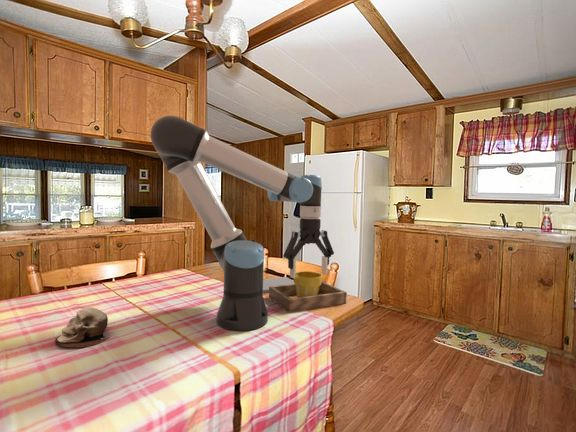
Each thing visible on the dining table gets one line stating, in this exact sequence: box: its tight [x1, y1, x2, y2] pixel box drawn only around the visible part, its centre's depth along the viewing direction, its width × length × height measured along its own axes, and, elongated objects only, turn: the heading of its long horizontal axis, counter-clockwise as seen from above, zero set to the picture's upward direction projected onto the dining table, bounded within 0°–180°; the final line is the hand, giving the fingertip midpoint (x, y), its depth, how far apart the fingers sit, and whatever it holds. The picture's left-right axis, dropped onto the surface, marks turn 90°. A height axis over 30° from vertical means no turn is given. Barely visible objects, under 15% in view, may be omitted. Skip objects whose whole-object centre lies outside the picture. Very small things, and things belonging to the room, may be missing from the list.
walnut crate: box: [268, 280, 348, 313], centre depth 114 cm, size 23×16×4 cm
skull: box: [54, 307, 111, 349], centre depth 79 cm, size 12×10×10 cm
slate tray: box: [263, 276, 295, 294], centre depth 132 cm, size 18×15×1 cm
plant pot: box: [293, 270, 323, 298], centre depth 114 cm, size 10×10×10 cm
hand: (308, 275), depth 114 cm, fingers open, 13 cm apart
